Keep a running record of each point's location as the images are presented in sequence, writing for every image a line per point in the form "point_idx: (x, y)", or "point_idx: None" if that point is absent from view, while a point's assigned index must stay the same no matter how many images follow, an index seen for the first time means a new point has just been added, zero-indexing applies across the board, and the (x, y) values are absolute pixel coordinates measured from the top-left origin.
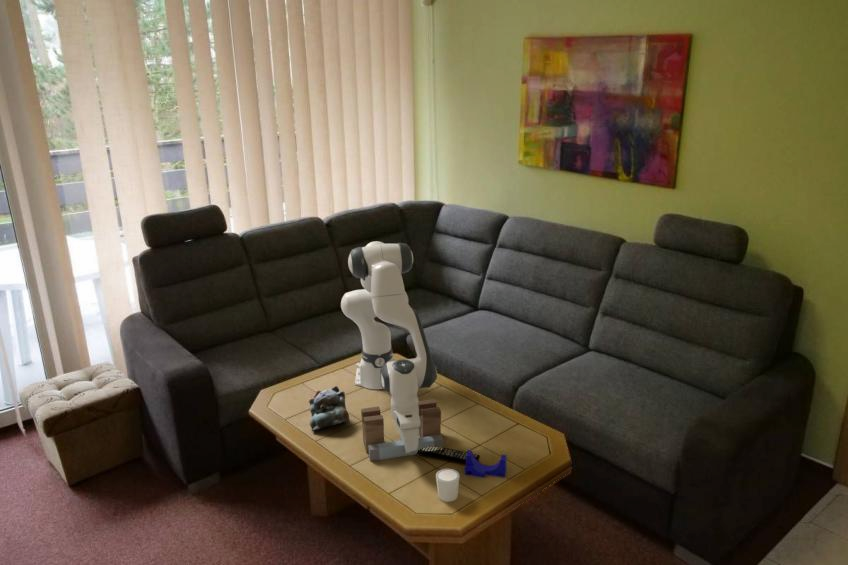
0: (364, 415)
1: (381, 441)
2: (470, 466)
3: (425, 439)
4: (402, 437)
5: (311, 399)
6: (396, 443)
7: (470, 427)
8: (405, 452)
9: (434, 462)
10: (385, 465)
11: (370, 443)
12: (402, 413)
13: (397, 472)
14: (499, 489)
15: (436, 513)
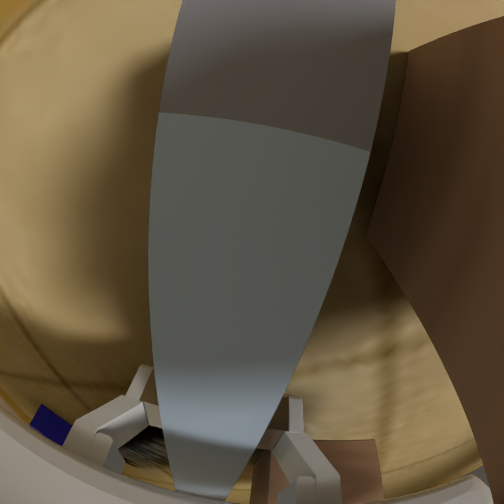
0: None
1: (425, 260)
2: (35, 430)
3: (198, 485)
4: (29, 493)
5: None
6: (216, 399)
7: None
8: (138, 369)
9: (100, 399)
10: (104, 147)
11: (467, 85)
12: None
13: (23, 212)
14: (11, 402)
15: None
